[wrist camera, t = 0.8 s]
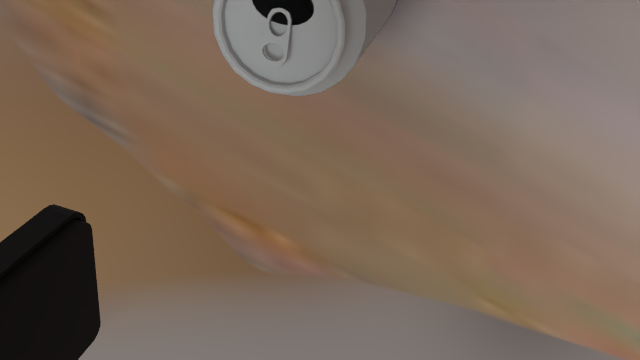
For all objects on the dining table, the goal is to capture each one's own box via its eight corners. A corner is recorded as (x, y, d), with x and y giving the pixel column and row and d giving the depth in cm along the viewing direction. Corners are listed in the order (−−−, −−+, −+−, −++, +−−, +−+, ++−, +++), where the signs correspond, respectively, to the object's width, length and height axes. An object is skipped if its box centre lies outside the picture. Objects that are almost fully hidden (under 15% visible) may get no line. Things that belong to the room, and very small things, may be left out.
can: (416, -74, 33) (374, -42, 23) (387, 51, 36) (341, 126, 26) (292, -100, 34) (200, -80, 24) (277, 24, 38) (193, 86, 28)
